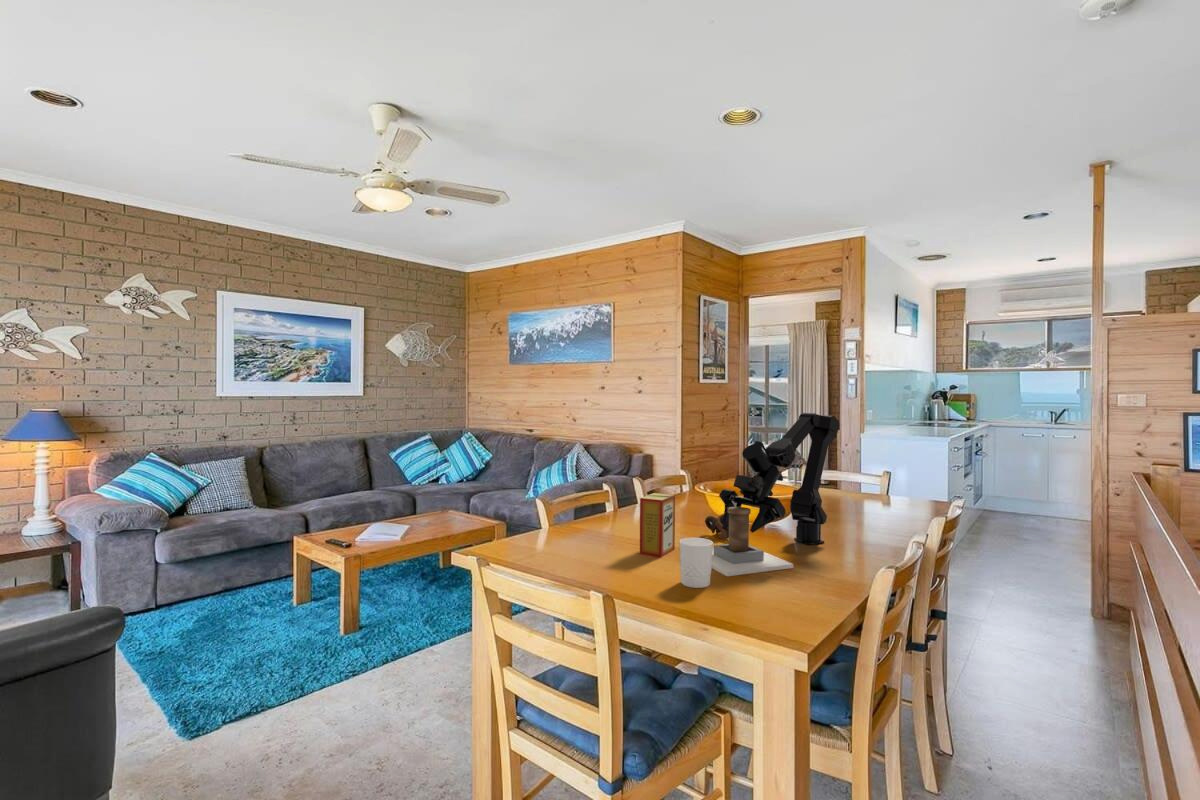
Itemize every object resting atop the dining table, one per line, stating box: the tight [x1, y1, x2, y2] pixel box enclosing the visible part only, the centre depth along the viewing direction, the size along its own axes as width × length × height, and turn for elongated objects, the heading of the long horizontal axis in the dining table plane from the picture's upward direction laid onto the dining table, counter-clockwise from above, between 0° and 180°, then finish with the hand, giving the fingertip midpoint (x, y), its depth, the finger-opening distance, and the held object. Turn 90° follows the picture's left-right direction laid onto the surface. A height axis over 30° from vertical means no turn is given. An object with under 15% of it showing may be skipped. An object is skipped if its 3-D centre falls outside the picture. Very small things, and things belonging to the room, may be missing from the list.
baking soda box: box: [639, 492, 676, 558], centre depth 170 cm, size 10×6×16 cm
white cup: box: [678, 537, 714, 589], centre depth 142 cm, size 8×8×10 cm
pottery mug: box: [704, 513, 729, 541], centre depth 187 cm, size 12×10×8 cm
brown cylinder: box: [728, 506, 752, 553], centre depth 161 cm, size 6×6×13 cm
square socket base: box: [711, 543, 794, 577], centre depth 161 cm, size 20×20×4 cm
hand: (737, 528), depth 160 cm, fingers open, 9 cm apart
